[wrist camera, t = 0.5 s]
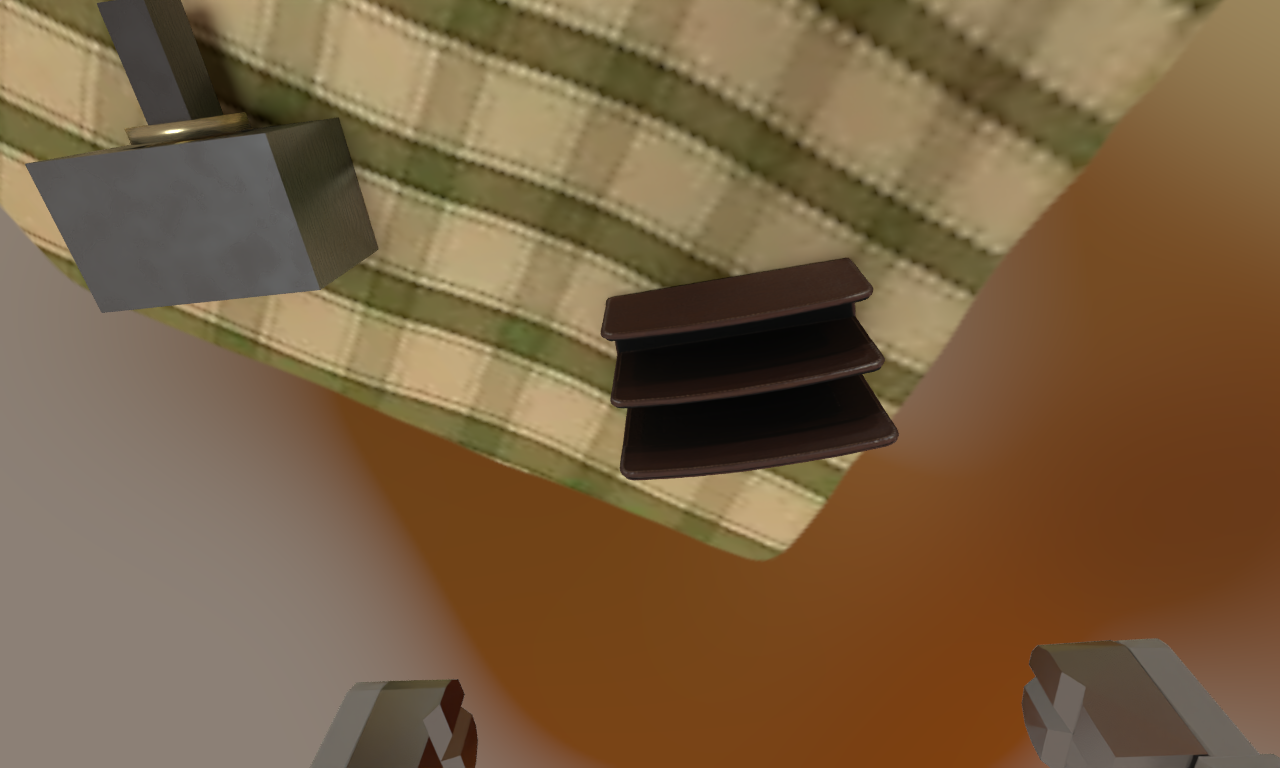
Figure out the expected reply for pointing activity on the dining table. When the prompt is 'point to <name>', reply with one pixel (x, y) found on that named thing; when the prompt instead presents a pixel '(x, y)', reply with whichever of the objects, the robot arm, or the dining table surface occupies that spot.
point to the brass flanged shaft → (166, 73)
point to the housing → (210, 215)
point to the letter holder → (745, 373)
